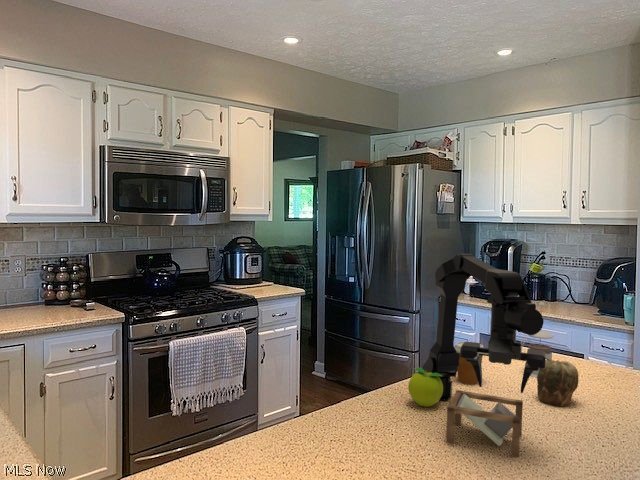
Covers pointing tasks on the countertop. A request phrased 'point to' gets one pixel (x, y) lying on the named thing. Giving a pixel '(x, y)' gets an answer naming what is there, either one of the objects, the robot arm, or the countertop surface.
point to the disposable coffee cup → (466, 368)
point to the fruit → (425, 387)
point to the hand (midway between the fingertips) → (500, 389)
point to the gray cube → (500, 426)
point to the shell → (557, 382)
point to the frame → (485, 415)
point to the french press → (541, 347)
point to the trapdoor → (478, 419)
